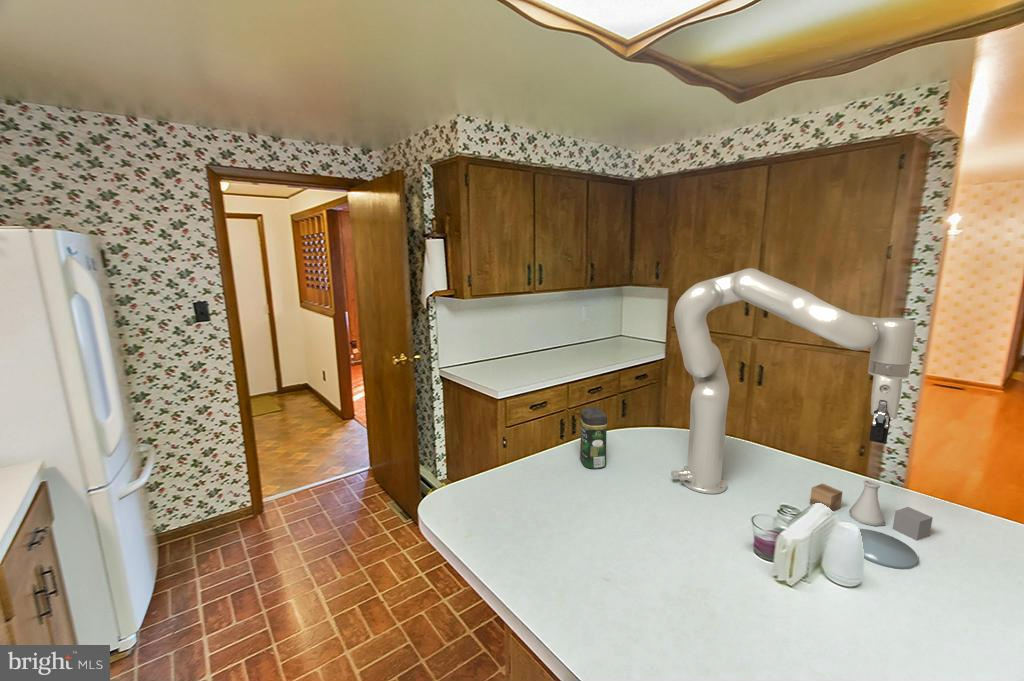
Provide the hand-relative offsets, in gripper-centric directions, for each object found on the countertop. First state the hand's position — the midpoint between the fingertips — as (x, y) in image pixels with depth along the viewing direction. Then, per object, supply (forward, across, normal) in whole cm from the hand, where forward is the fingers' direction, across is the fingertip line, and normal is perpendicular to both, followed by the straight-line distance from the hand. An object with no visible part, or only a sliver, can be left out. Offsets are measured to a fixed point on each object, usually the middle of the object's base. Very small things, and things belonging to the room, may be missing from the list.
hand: (879, 435), depth 109 cm
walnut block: (+23, 0, +9) cm, 24 cm away
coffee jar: (+22, -19, +70) cm, 76 cm away
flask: (+23, 0, 0) cm, 23 cm away
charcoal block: (+23, 0, -8) cm, 24 cm away
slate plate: (+22, -14, -3) cm, 27 cm away
